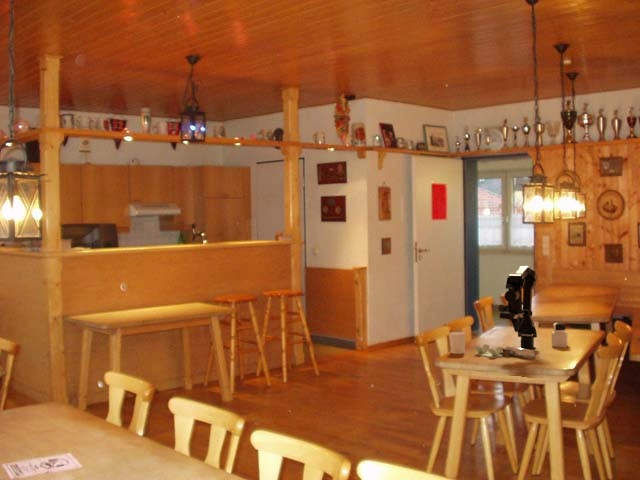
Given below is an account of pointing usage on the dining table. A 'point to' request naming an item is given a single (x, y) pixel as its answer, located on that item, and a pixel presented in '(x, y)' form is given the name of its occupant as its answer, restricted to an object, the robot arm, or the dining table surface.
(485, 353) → the cradle
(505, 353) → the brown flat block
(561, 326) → the medicine bottle
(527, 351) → the brown rounded bar
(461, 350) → the white cup
